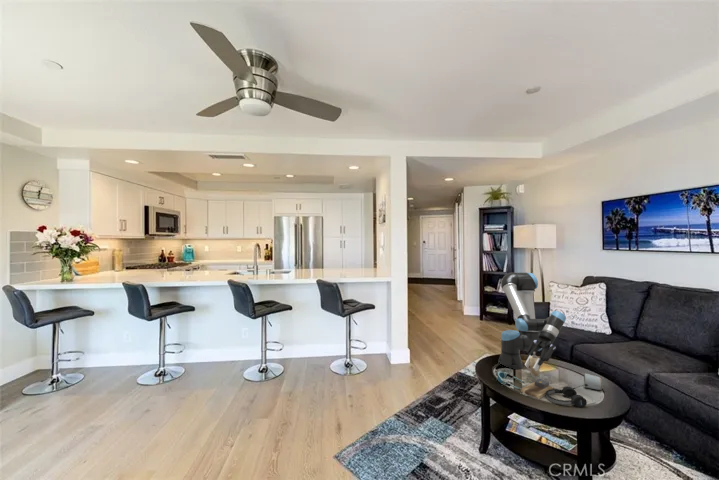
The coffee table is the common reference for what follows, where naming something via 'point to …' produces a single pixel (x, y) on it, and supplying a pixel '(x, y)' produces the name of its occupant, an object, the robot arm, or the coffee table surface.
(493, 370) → the coffee table surface
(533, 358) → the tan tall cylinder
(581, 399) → the headset
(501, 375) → the sunglasses
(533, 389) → the plywood panel
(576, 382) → the coffee table surface
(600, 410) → the coffee table surface
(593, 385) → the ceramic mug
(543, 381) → the block
